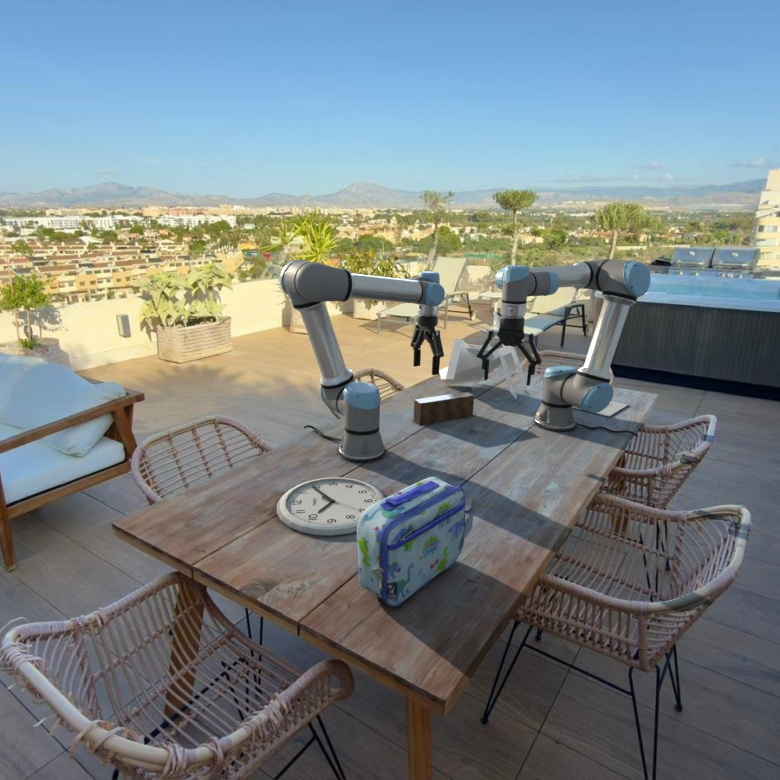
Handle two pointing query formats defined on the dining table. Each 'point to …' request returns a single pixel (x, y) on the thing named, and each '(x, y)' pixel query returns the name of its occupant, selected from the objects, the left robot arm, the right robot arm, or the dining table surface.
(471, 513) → the dining table surface
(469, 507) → the fork
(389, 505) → the lunch box
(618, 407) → the invitation card
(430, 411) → the bar
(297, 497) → the wall clock
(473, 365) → the white plastic object
